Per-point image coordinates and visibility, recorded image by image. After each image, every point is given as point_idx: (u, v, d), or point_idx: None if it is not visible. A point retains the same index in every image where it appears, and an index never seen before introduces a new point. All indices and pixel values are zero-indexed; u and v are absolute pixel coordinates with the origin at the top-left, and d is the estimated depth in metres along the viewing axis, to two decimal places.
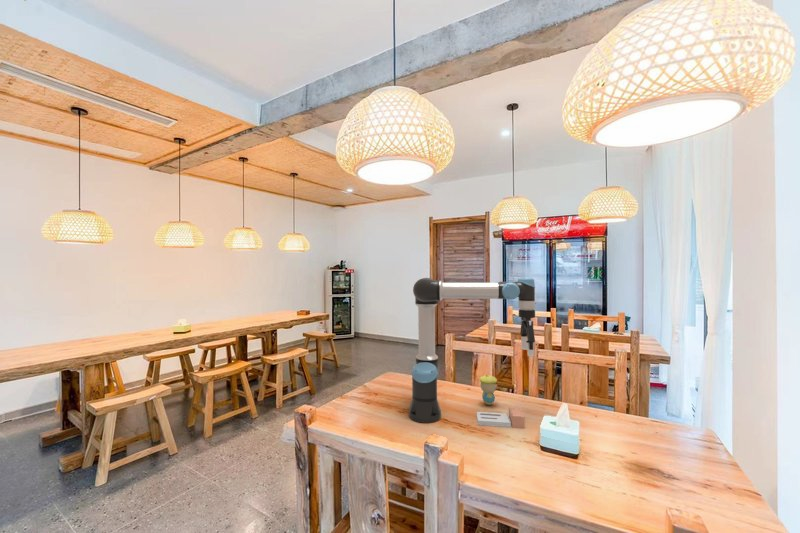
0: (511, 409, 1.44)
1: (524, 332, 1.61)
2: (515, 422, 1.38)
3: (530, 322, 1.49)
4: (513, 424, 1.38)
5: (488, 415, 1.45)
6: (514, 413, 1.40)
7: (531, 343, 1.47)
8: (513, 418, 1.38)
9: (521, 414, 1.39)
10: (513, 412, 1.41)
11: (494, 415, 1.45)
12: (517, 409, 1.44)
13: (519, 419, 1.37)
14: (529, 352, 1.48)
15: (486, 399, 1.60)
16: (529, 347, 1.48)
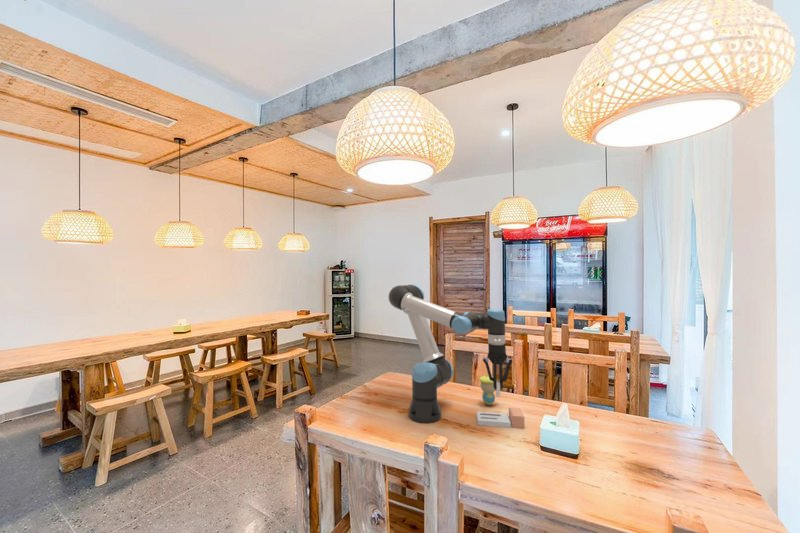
0: (511, 409, 1.44)
1: (499, 373, 1.44)
2: (515, 422, 1.38)
3: None
4: (513, 424, 1.38)
5: (488, 415, 1.45)
6: (514, 413, 1.40)
7: (493, 381, 1.44)
8: (513, 418, 1.38)
9: (521, 414, 1.39)
10: (513, 412, 1.41)
11: (494, 415, 1.45)
12: (517, 409, 1.44)
13: (519, 419, 1.37)
14: (496, 391, 1.44)
15: (486, 399, 1.60)
16: None
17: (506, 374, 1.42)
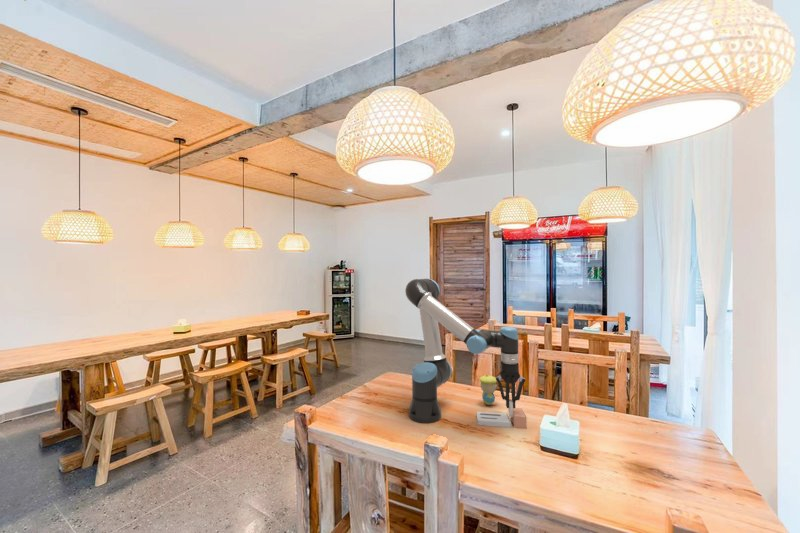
0: (513, 409, 1.44)
1: None
2: (517, 422, 1.37)
3: (496, 379, 1.44)
4: (515, 424, 1.38)
5: (488, 415, 1.45)
6: (516, 413, 1.40)
7: (506, 400, 1.43)
8: (515, 418, 1.38)
9: (523, 414, 1.39)
10: (515, 412, 1.41)
11: (494, 415, 1.45)
12: (519, 409, 1.44)
13: (521, 419, 1.37)
14: None
15: (486, 399, 1.60)
16: None
17: (519, 393, 1.41)
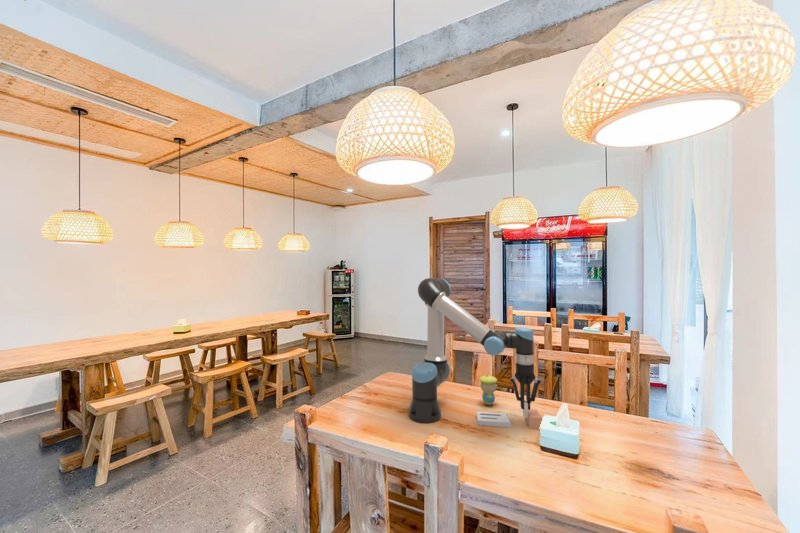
0: (528, 410, 1.43)
1: (526, 393, 1.41)
2: (532, 423, 1.36)
3: None
4: (530, 425, 1.36)
5: (488, 415, 1.45)
6: (531, 414, 1.39)
7: None
8: (530, 419, 1.37)
9: (538, 415, 1.38)
10: (530, 413, 1.40)
11: (494, 415, 1.45)
12: (534, 410, 1.43)
13: (537, 420, 1.36)
14: (523, 411, 1.42)
15: (486, 399, 1.60)
16: None
17: (534, 394, 1.40)
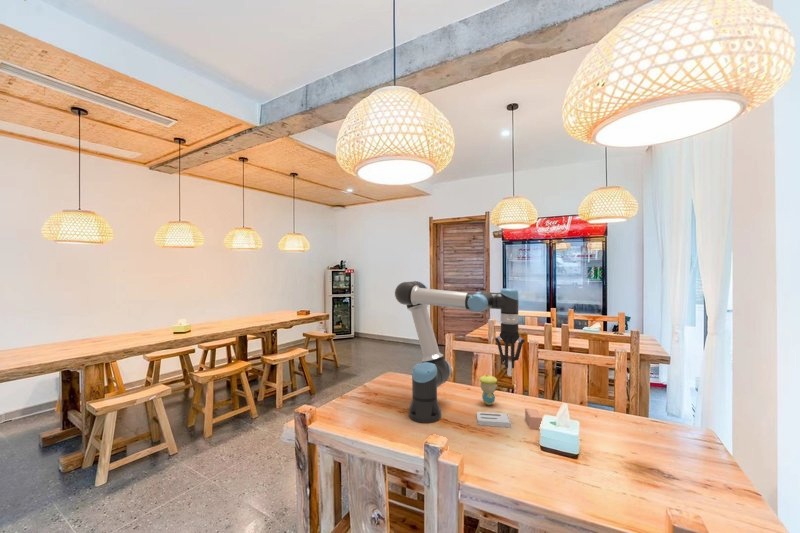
0: (528, 410, 1.43)
1: (511, 353, 1.44)
2: (532, 423, 1.36)
3: None
4: (531, 425, 1.36)
5: (488, 415, 1.45)
6: (531, 414, 1.39)
7: None
8: (530, 419, 1.37)
9: (538, 415, 1.38)
10: (530, 413, 1.40)
11: (494, 415, 1.45)
12: (534, 410, 1.43)
13: (537, 420, 1.36)
14: (507, 370, 1.44)
15: (486, 399, 1.60)
16: None
17: (518, 353, 1.42)
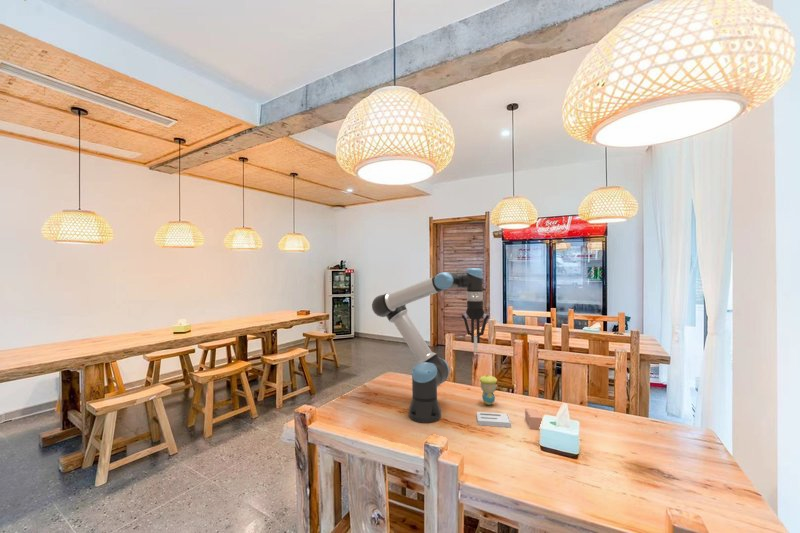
0: (528, 410, 1.43)
1: None
2: (532, 423, 1.36)
3: (462, 317, 1.54)
4: (531, 425, 1.36)
5: (488, 415, 1.45)
6: (531, 414, 1.39)
7: (471, 336, 1.53)
8: (530, 419, 1.37)
9: (538, 415, 1.38)
10: (530, 413, 1.40)
11: (494, 415, 1.45)
12: (534, 410, 1.43)
13: (537, 420, 1.36)
14: None
15: (486, 399, 1.60)
16: None
17: (483, 329, 1.51)
